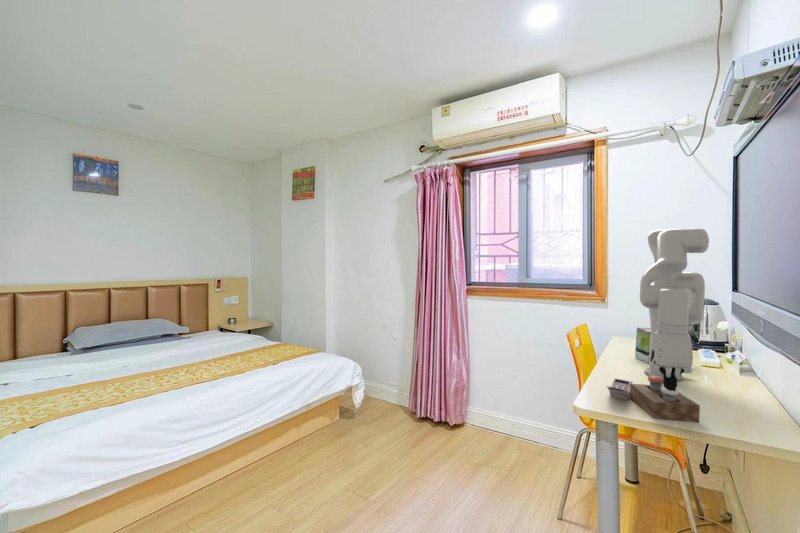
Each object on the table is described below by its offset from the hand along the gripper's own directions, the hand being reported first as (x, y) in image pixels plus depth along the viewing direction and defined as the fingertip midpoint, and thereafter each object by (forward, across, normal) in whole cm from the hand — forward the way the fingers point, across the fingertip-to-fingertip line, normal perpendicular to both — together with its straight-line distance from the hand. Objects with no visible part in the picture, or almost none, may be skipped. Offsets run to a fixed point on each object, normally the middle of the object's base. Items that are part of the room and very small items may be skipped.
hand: (669, 389), depth 112 cm
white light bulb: (+7, 0, 0) cm, 7 cm away
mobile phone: (+8, +7, -16) cm, 19 cm away
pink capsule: (+6, 0, -8) cm, 10 cm away
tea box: (+8, -28, -64) cm, 70 cm away
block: (+8, 0, -4) cm, 9 cm away
